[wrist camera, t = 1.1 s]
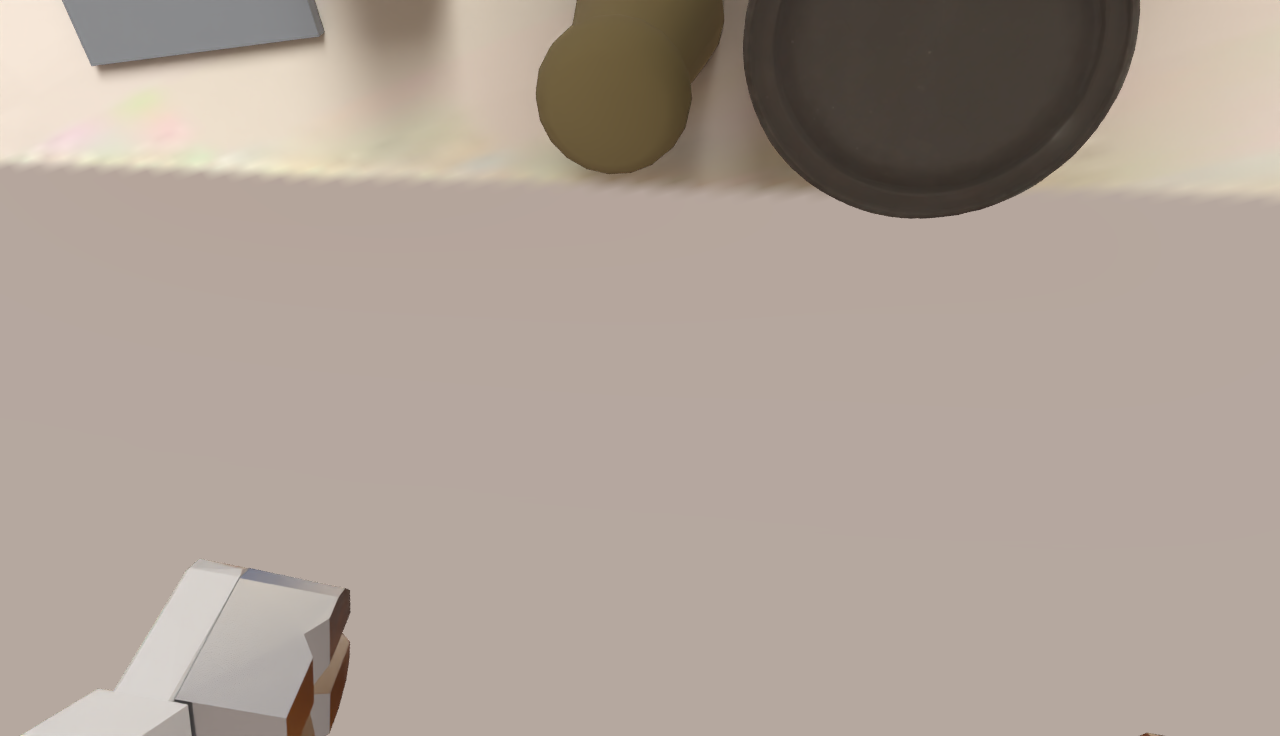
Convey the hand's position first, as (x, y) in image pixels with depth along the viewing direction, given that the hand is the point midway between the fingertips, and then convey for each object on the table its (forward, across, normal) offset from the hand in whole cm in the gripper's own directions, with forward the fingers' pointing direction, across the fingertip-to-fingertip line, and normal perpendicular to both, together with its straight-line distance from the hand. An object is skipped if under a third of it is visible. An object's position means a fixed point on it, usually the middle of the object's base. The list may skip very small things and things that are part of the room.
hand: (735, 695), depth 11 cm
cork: (+37, +3, +4) cm, 37 cm away
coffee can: (+36, -6, -1) cm, 37 cm away
